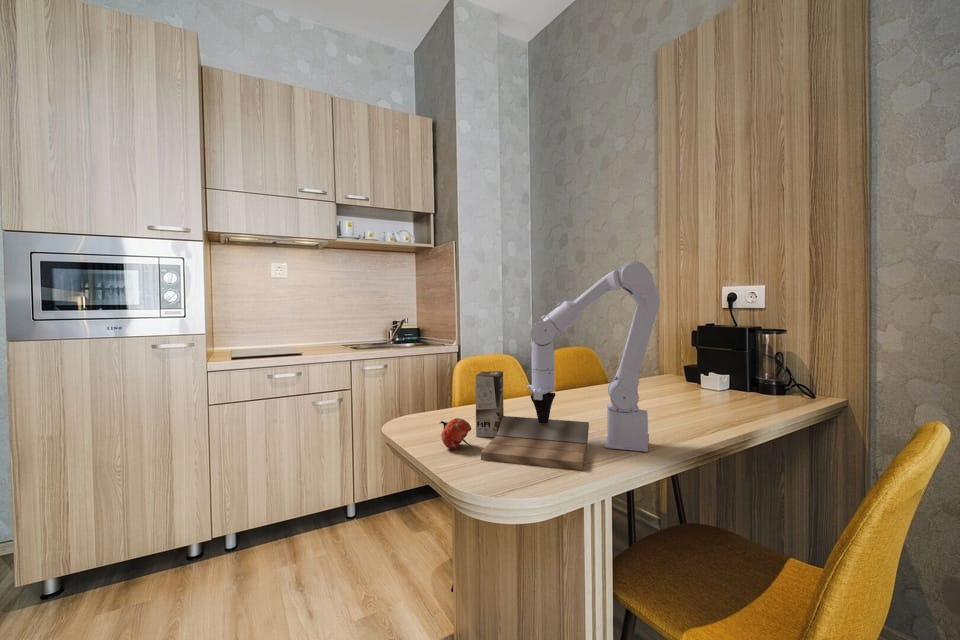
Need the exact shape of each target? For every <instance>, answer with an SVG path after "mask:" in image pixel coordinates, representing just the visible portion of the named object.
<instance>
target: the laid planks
mask: <svg viewBox="0 0 960 640" xmlns="http://www.w3.org/2000/svg"><path fill="white" fill-rule="evenodd" d="M587 448H588V443H587V444H580V443H569V442H557V441H546V440H535V439H524V438H512V437H501V436H496V437H495V438H494V437H493V438H492V440H491V441H489V443H488V444H487V445H486V446H485V447H484V448H483V449H482V450H481V451H480V460H484V461H493V462H499V463H500V462H502V463H511V464H517V465H518V464H520V465H530V466H539V467H546V468H547V467H548V468H555V469H556V468H557V469H564V470H565V469H566V470H574V471H583V468H584V467H583V466H584V463H585V460H586V456H587V451H588V449H587Z"/></svg>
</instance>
